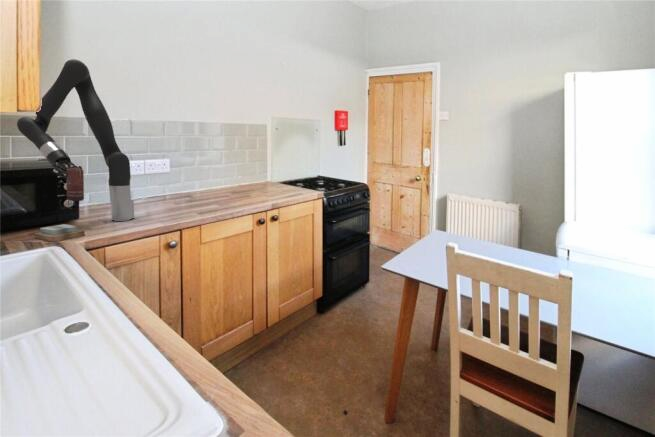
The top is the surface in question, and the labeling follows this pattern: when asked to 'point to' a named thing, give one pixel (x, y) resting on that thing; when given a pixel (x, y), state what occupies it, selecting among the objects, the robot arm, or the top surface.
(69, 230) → the stand
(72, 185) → the can
